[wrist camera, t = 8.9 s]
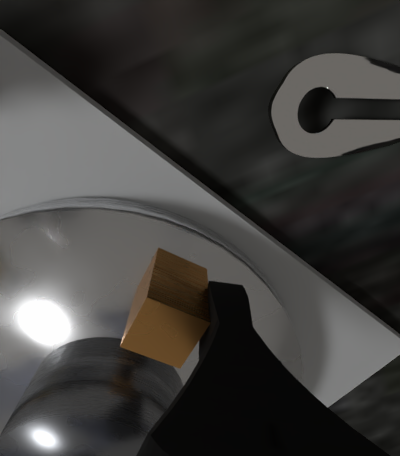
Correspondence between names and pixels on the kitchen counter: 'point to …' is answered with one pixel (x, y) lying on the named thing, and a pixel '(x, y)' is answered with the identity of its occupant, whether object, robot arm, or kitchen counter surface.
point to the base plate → (172, 201)
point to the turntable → (119, 287)
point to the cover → (90, 402)
